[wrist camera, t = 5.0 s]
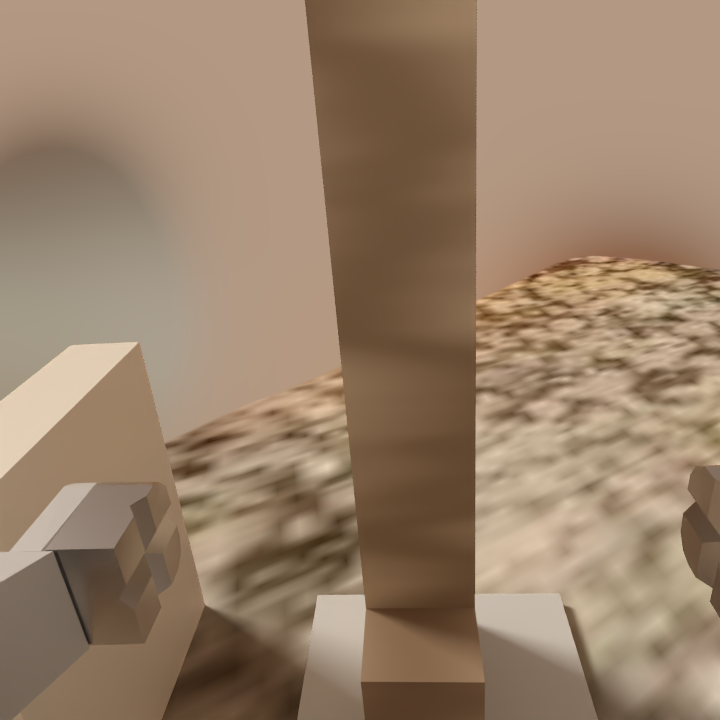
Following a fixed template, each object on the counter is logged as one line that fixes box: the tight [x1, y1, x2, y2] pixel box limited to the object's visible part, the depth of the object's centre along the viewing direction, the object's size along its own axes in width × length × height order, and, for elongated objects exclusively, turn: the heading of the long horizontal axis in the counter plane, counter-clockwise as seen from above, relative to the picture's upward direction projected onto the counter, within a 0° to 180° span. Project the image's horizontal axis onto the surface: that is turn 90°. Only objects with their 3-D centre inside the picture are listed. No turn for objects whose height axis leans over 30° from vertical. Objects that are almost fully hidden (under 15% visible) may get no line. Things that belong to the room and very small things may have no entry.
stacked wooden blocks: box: [305, 0, 485, 720], centre depth 13 cm, size 2×6×18 cm, turn 176°
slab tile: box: [0, 342, 205, 720], centre depth 15 cm, size 2×8×10 cm, turn 176°
